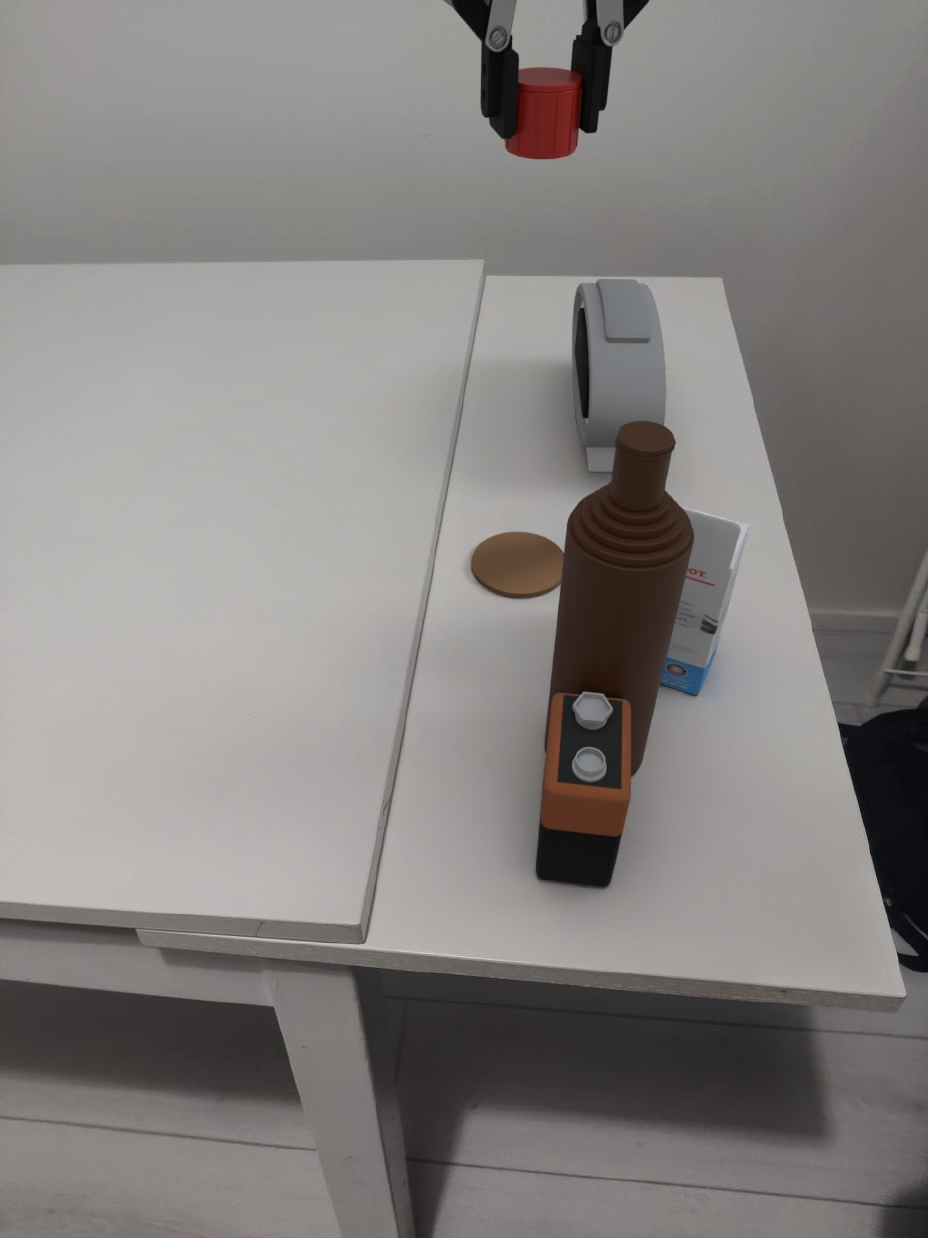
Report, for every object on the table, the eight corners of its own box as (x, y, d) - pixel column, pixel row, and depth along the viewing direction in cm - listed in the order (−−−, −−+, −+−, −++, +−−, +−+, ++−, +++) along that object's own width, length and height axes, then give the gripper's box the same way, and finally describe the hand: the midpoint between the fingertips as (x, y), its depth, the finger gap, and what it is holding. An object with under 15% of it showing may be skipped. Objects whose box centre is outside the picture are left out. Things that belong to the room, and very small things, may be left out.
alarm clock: (567, 364, 93) (578, 242, 85) (625, 365, 93) (642, 243, 84) (580, 492, 77) (596, 358, 68) (651, 494, 77) (676, 359, 68)
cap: (570, 137, 50) (576, 66, 48) (581, 159, 47) (587, 85, 45) (501, 137, 50) (504, 67, 47) (508, 160, 47) (511, 86, 45)
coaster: (586, 567, 70) (586, 562, 69) (519, 612, 66) (520, 607, 66) (517, 524, 74) (518, 519, 73) (451, 564, 70) (451, 559, 70)
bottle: (663, 749, 57) (744, 436, 40) (599, 806, 54) (658, 493, 37) (588, 694, 60) (635, 385, 44) (523, 746, 57) (548, 433, 41)
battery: (612, 792, 54) (634, 685, 47) (610, 892, 49) (634, 789, 42) (542, 784, 55) (553, 677, 48) (533, 882, 50) (544, 779, 43)
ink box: (717, 651, 63) (766, 482, 53) (698, 698, 60) (746, 528, 50) (605, 614, 66) (631, 447, 56) (581, 658, 63) (604, 488, 52)
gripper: (382, -397, 31) (404, 161, 44) (808, -381, 34) (712, 139, 47) (352, -374, 36) (380, 118, 49) (724, -361, 39) (658, 101, 52)
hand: (542, 124), depth 48 cm, fingers closed on cap, 3 cm apart
